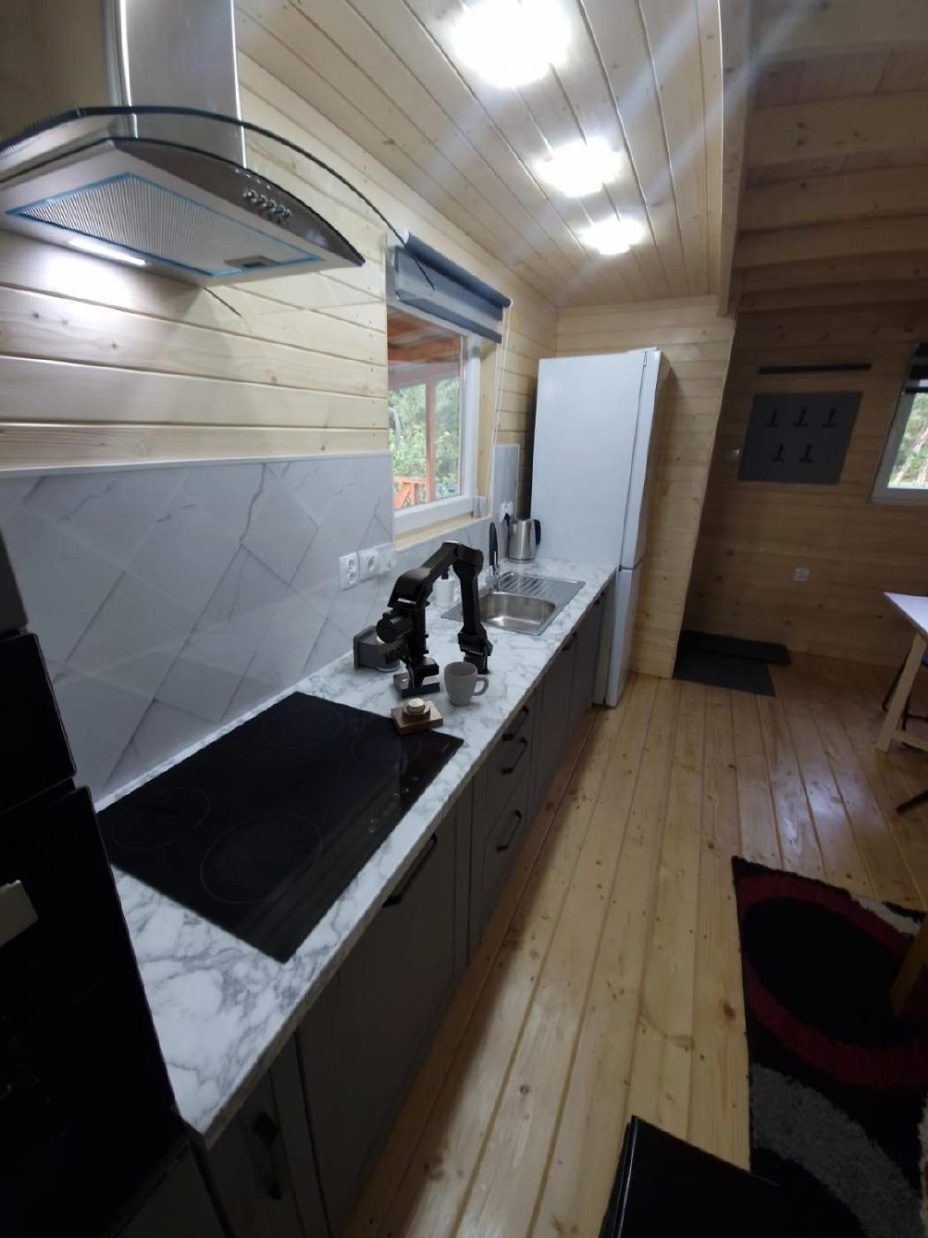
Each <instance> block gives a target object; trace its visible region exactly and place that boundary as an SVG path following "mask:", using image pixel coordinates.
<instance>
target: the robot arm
mask: <svg viewBox="0 0 928 1238" xmlns="http://www.w3.org/2000/svg"><path fill="white" fill-rule="evenodd" d="M484 561H485V556H484V553H483V550H481V549H479V548H473V547H469V546H467V545H465V544H464V543H462V542H460V541H453V540H446V541H445V540H444V541H443V542H442V544H441V546H440V547H439V548H438V549H437V550H436V551H435V552H434V553H433V554H432V555H430V557H428V558H427V559H426V560H425V561H424V562H423V563H422V564H421V565H420V566H419V567H417V568H413V569H410V570H407V571H405V572H404V573H402V574H400V575H399V576H398V577H397V578H396V581H395V583H394V585H393V588H392V591H391V593H390V597H389V599H388V602H387V604H386V607H387V608H389V609H390V608H391V609H390V610H388V611H384V612H382V614H381V616H382V617H381V618H380V619H379V620H378V621H377V622H376V624H375V626H376V633H377V635H378V637H379V638H380V640H382V641H383V642H384V643H383V644H381V645H379V646H378V647H377V649H378V651H379V653H380V655H381V657H382V659H383V660H384V662H385V664H391V663H394V662H395V661H397V660H399V659H400V662H402V663H403V664H404V668H405V669H406V672H408V673H409V677H410V680H411V683H412V684H414V688H415V689H419V688H420V686H421V684H422V682H423V680H424V678H425V677H429V676H435V677H436V676H438V675H440V665H439V664H438V663H437V662H436V660H435V659H433V658H432V657H431V656H430V657H429V656H426V655H429V654H430V649H429V648H428V646H427V639H429V637H430V634H429V633H428V631H427V615H426V608H427V607H429V606H430V605H431V602H430V601H429V600H428V599H429V597H430V595H432V593H433V592H434V584H435V583H436V581H437V580H438V579H440V578H441V576H442V575H443V574H444V573H445V572H446V571H447V570H448V569H449V568H450V567H452V571H453V573H454V574H455V576H456V577H457V578H458V580H459V586H460V599H461V613H462V623H463V625H462V627H461V629H460V630H459V631H458V632H457V634H456V635H457V645H458V648H459V651H460V652H461V653H464V656H463V658H462V662H468V663H471V664H473V665H475V666H476V668H477V674H478V675H487V674H490V672H491V671H490V670H489V669H488V662H489V661H488V659H489V657H491V656H492V653H493V649H494V644H492V642H491V641H490V640H489V637H488V631H487V629H486V628H485V627H484V625H483V624H482V622H481V608H480V607H481V606H480V592H479V576H480V574H481V572H482V571H483V569H484ZM402 600H403V601H402ZM406 601H408V602H406Z"/></svg>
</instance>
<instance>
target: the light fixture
mask: <svg viewBox="0 0 928 1238" xmlns="http://www.w3.org/2000/svg"><path fill="white" fill-rule="evenodd" d="M383 643H384V642H383V641H382V640H380V638H379V637H378V635H377V633H376V625H374V624H370V625H369V626H368V627H366V628H365V629H363V630H361V631H360V632H358V633H356V634H355V635H354V636H353V638H352V651H353V653H352V654H353V668H355V669H361V668H362V667H363V666H371V667H375V668H376V669H377V670H379V671H381V672H393V671H396V670H397V669H398V668H399V666H400V664H401V660H400V659H399V660H397V661H395V662H394V663H391V664H385V662H384V660H383V659H382V657H381V655H380V653H379V651H378V649H377V647H378V646H379V645H381V644H383Z"/></svg>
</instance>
